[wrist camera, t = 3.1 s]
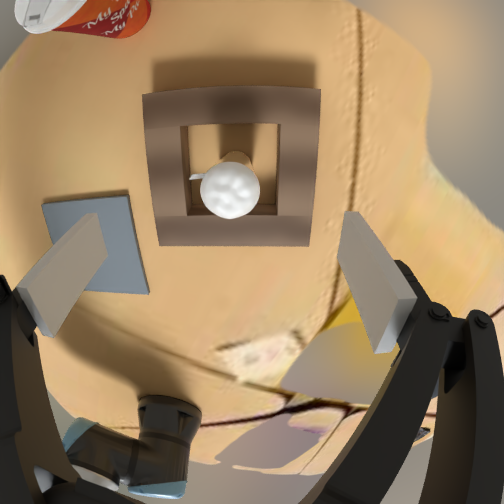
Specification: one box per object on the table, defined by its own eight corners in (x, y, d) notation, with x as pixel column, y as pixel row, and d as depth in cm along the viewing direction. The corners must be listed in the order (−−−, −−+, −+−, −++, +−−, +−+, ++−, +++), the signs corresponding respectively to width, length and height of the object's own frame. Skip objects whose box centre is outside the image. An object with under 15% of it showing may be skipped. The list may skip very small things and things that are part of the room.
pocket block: (304, 233, 32) (308, 246, 29) (166, 233, 32) (159, 246, 29) (313, 89, 24) (320, 89, 21) (152, 94, 24) (142, 94, 21)
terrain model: (418, 425, 72) (420, 432, 69) (429, 428, 77) (431, 434, 74) (373, 447, 80) (374, 454, 77) (388, 449, 85) (390, 455, 82)
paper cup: (146, 50, 21) (68, 27, 9) (87, 46, 20) (-2, 39, 8) (171, -13, 17) (116, -70, 5) (110, -13, 16) (35, -48, 4)
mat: (149, 291, 37) (148, 294, 36) (71, 286, 37) (69, 289, 36) (128, 194, 29) (126, 196, 29) (43, 203, 29) (41, 205, 29)
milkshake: (222, 131, 26) (207, 149, 17) (266, 160, 28) (273, 192, 19) (199, 167, 28) (174, 202, 19) (241, 194, 29) (237, 239, 21)
